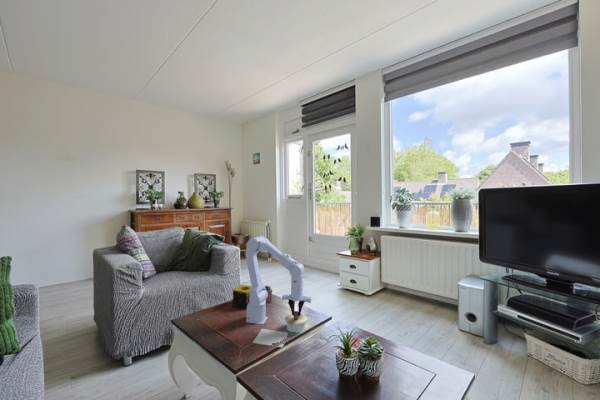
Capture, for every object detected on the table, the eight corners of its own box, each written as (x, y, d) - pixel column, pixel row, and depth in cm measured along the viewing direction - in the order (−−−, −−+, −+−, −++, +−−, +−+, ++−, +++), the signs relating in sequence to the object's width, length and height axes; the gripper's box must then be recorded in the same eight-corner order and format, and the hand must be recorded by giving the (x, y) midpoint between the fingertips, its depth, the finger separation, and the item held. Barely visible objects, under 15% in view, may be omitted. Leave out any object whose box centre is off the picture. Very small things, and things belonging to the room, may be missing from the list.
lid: (281, 322, 128) (282, 315, 128) (289, 313, 139) (289, 306, 139) (303, 326, 125) (304, 318, 125) (309, 316, 136) (309, 309, 136)
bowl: (284, 332, 129) (284, 324, 129) (289, 322, 138) (289, 315, 137) (303, 334, 127) (303, 326, 127) (306, 325, 136) (306, 317, 136)
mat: (252, 343, 119) (252, 342, 119) (262, 329, 131) (262, 328, 131) (282, 348, 116) (282, 347, 116) (289, 333, 128) (289, 332, 128)
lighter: (272, 301, 163) (272, 285, 163) (271, 303, 160) (271, 287, 160) (259, 300, 164) (260, 284, 164) (258, 302, 161) (258, 286, 160)
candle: (231, 306, 155) (231, 290, 154) (241, 300, 164) (241, 284, 164) (246, 310, 151) (247, 292, 151) (255, 302, 161) (256, 286, 160)
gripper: (280, 289, 129) (279, 316, 130) (309, 292, 126) (309, 320, 126) (284, 284, 136) (283, 310, 136) (312, 287, 133) (311, 313, 133)
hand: (296, 314), depth 132 cm, fingers closed on lid, 2 cm apart
